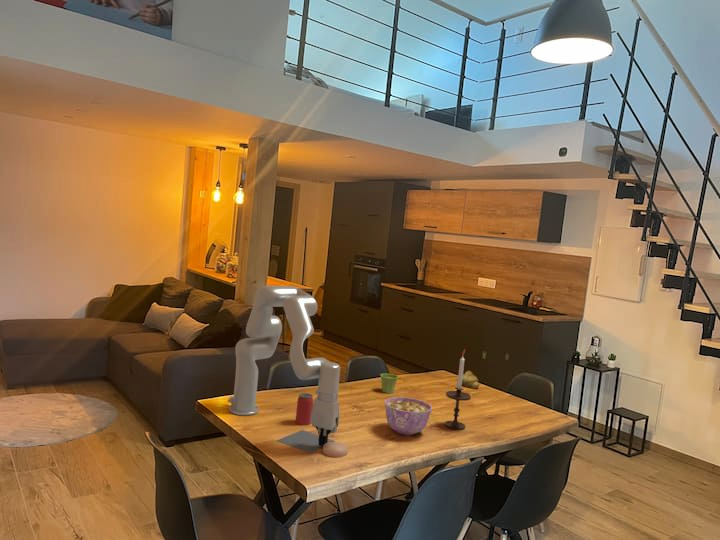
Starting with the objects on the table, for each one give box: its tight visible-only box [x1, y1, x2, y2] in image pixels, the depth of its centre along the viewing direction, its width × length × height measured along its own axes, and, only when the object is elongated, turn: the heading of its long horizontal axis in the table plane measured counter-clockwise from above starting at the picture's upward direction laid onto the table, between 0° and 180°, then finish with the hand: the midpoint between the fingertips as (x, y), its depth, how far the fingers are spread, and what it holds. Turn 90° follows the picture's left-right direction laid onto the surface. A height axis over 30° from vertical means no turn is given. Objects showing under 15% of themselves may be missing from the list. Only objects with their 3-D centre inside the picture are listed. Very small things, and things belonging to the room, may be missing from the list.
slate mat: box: [275, 429, 336, 454], centre depth 202 cm, size 16×16×1 cm
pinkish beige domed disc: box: [322, 441, 349, 458], centre depth 195 cm, size 9×9×3 cm
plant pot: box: [379, 373, 399, 394], centre depth 282 cm, size 9×9×9 cm
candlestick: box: [444, 349, 472, 431], centre depth 237 cm, size 11×11×35 cm
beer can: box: [295, 392, 314, 426], centre depth 222 cm, size 7×7×12 cm
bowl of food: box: [384, 396, 433, 436], centre depth 225 cm, size 20×20×12 cm
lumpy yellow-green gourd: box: [462, 370, 480, 389], centre depth 310 cm, size 13×10×8 cm
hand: (322, 444), depth 198 cm, fingers closed
